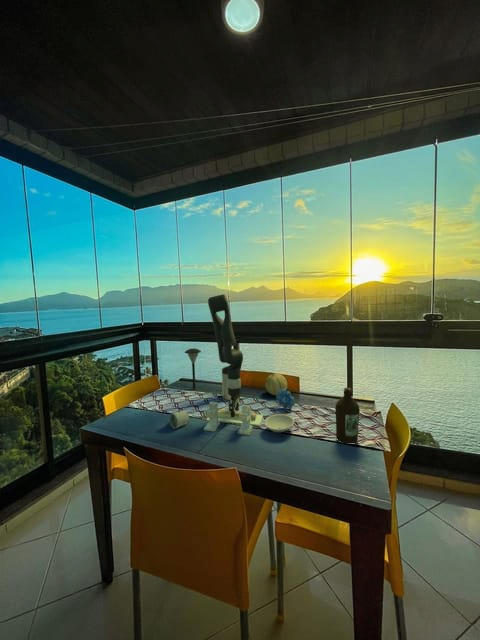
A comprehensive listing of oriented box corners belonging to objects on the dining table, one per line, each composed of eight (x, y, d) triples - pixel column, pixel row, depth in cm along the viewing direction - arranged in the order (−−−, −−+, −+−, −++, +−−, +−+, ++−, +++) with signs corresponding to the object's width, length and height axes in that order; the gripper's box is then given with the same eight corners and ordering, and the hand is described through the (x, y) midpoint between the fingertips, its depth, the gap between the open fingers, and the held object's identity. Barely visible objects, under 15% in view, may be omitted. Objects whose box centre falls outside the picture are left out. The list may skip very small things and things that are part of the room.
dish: (285, 442, 132) (285, 432, 131) (258, 434, 140) (258, 425, 139) (299, 427, 147) (299, 417, 146) (274, 420, 154) (273, 412, 154)
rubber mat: (213, 411, 168) (213, 410, 168) (263, 416, 160) (263, 415, 160) (206, 420, 156) (206, 419, 156) (259, 425, 149) (259, 424, 149)
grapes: (273, 409, 169) (273, 390, 168) (277, 405, 175) (277, 386, 174) (292, 413, 163) (292, 393, 162) (295, 408, 169) (295, 389, 168)
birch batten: (215, 414, 163) (215, 409, 162) (256, 418, 157) (256, 412, 156) (213, 416, 160) (213, 411, 160) (255, 420, 154) (255, 415, 154)
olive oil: (330, 435, 137) (331, 386, 135) (349, 433, 139) (350, 384, 137) (343, 447, 127) (344, 393, 124) (363, 444, 129) (365, 391, 127)
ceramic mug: (190, 424, 152) (189, 410, 151) (177, 430, 146) (177, 416, 145) (178, 419, 159) (177, 406, 158) (165, 424, 153) (165, 411, 152)
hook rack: (209, 422, 153) (208, 401, 152) (252, 427, 147) (252, 405, 146) (203, 430, 145) (202, 408, 144) (249, 435, 139) (248, 412, 138)
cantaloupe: (291, 394, 194) (291, 372, 192) (279, 400, 183) (278, 377, 181) (273, 389, 204) (273, 369, 202) (261, 395, 193) (260, 373, 191)
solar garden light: (183, 392, 202) (181, 351, 199) (189, 386, 214) (187, 347, 211) (199, 392, 200) (198, 351, 197) (204, 387, 212) (203, 347, 209)
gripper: (231, 381, 164) (232, 408, 166) (223, 389, 151) (224, 418, 152) (243, 382, 162) (244, 409, 164) (237, 390, 149) (238, 420, 150)
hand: (234, 413), depth 158 cm, fingers open, 8 cm apart
